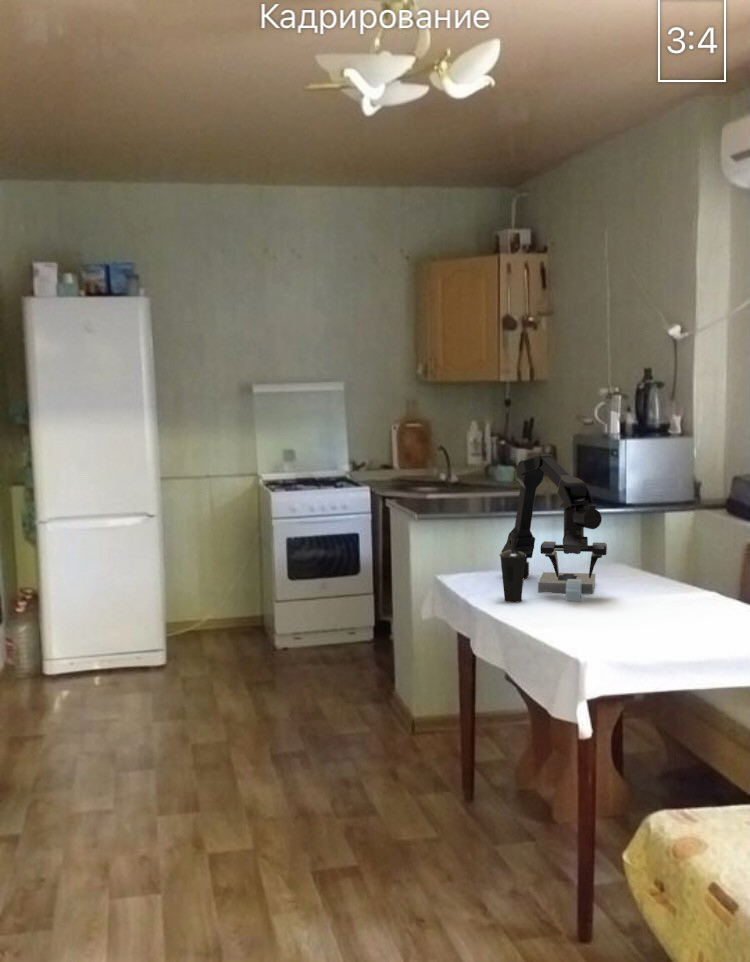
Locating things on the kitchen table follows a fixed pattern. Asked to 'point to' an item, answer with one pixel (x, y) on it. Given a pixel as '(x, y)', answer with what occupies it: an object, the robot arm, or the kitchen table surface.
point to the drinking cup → (512, 573)
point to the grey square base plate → (558, 584)
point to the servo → (574, 589)
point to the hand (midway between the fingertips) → (573, 577)
